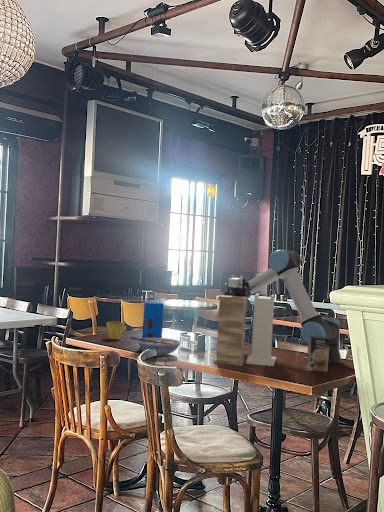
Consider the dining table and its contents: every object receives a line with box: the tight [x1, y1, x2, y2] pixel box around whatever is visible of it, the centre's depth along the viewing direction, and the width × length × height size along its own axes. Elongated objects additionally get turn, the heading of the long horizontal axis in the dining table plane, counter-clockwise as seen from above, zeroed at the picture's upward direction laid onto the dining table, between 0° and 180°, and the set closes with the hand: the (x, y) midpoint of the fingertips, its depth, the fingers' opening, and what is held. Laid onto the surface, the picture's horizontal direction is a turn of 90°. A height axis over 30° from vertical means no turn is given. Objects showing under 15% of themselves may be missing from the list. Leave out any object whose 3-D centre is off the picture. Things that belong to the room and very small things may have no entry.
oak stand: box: [213, 294, 247, 367], centre depth 285 cm, size 14×14×33 cm
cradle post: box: [245, 293, 277, 367], centre depth 292 cm, size 20×14×34 cm
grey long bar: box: [227, 277, 242, 287], centre depth 290 cm, size 28×4×4 cm, turn 169°
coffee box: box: [305, 336, 330, 373], centre depth 277 cm, size 9×6×16 cm
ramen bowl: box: [130, 337, 181, 357], centre depth 294 cm, size 25×23×8 cm
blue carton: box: [141, 301, 164, 338], centre depth 317 cm, size 11×11×25 cm
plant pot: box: [106, 321, 125, 340], centre depth 342 cm, size 10×10×10 cm
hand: (236, 276), depth 296 cm, fingers closed on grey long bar, 4 cm apart
